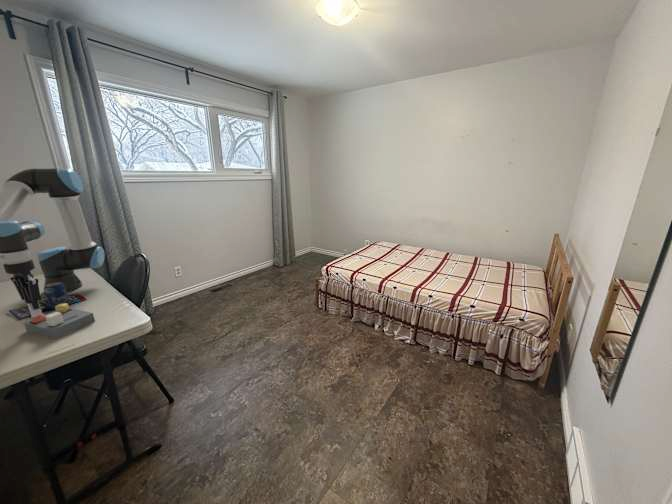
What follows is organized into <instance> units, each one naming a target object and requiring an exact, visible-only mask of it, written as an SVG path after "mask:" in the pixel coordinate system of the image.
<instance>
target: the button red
mask: <svg viewBox="0 0 672 504" xmlns="http://www.w3.org/2000/svg"><path fill="white" fill-rule="evenodd" d="M45 315H46V313H43V315H40V316H38V317H35V318H33V317H32V316H31V317H30V320H32V323H33V324H38V323H41V322H43V321H46V318H45Z"/></svg>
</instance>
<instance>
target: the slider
mask: <svg viewBox="0 0 672 504" xmlns="http://www.w3.org/2000/svg"><path fill="white" fill-rule="evenodd" d="M45 318H46V321H47V323H48V325H50V326H55V325H58V324H60V323H63V322H64V319H63V316H62V313H59V312H55V313H52V314H49V315H47V316H45Z"/></svg>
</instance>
